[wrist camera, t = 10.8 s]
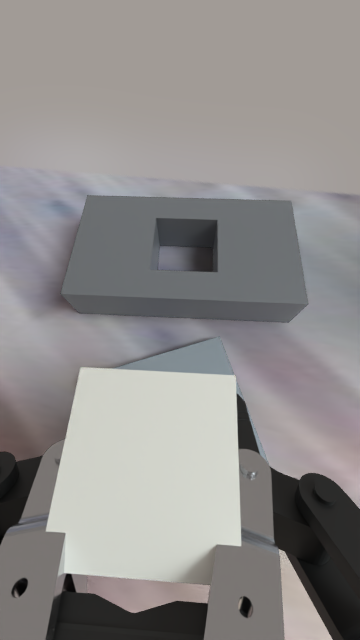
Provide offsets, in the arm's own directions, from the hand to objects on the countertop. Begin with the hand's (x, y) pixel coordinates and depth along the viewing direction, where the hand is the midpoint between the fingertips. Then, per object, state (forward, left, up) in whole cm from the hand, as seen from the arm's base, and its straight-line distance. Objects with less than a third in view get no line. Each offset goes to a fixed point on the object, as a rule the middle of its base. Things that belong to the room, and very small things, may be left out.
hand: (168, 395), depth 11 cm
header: (-4, -11, -7) cm, 14 cm away
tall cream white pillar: (+1, +2, -5) cm, 6 cm away
